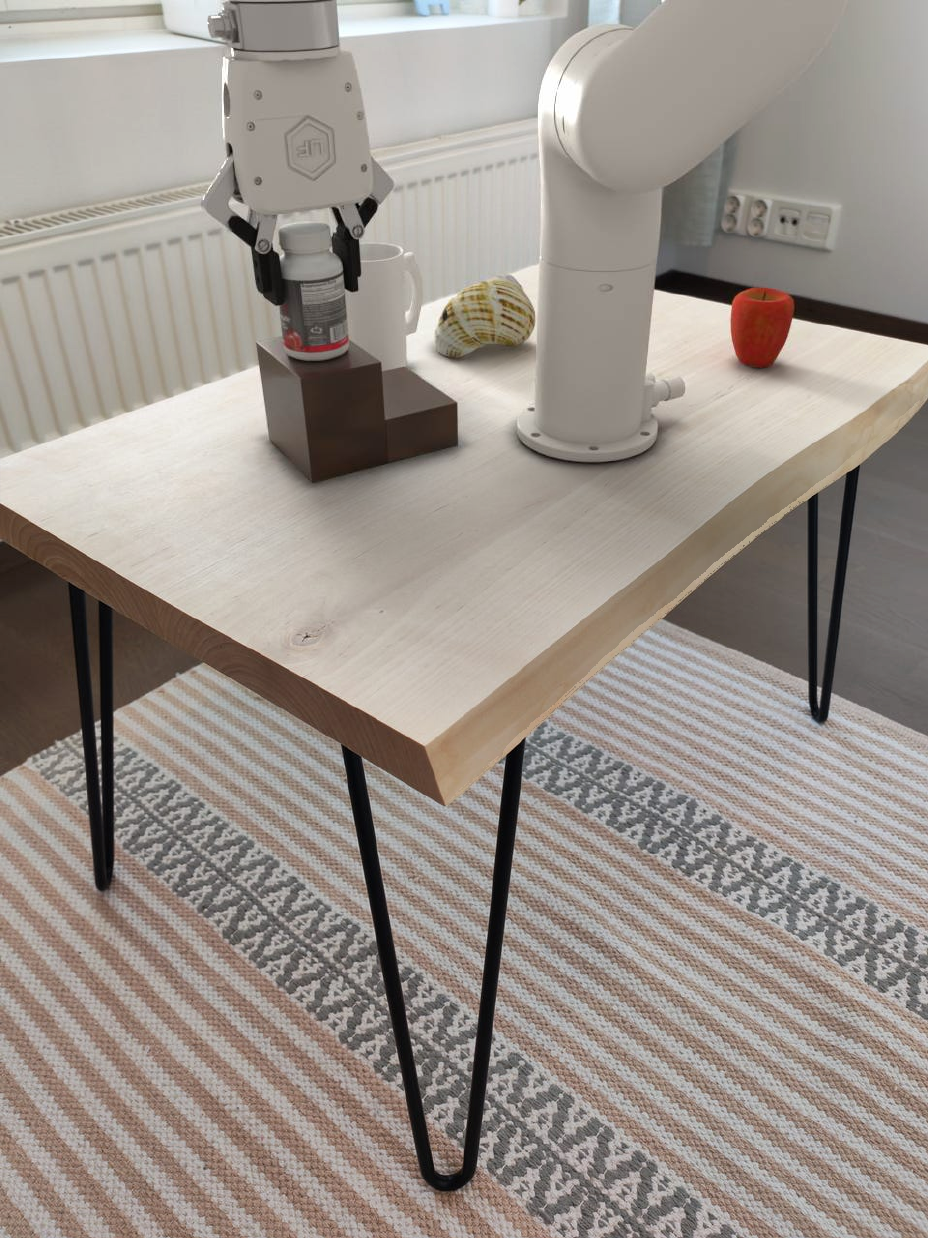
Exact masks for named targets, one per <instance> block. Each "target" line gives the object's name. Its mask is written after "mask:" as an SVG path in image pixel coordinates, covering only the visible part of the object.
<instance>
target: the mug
mask: <svg viewBox="0 0 928 1238" xmlns="http://www.w3.org/2000/svg"><path fill="white" fill-rule="evenodd" d="M359 246H360V260H361V276H360V277H358V291H357V292H350V291H348V290H346V289H345V300H346V311H347V323H348V336H349V340H351V341H352V342H353V343H355V344H356V345H358V346H359V347H361V348H362V349H363V350H365V351H366V352H368V353H369V354H370V355H372V356H373V357H375V358H376V359H378V360H379V361H380V362H381V365H382V371H386V370H391V369H396V368H400V367H406V368H408V365H407V360H408V359H407V336H409V335H411V334H412V335H413V334H415V333H416V332H417V330H418V324H419V320H420V315H421V310H422V304H423V297H424V296H423V295H424V286H423V279H422V275H421V274H422V273H421V272H420V269H419V267H418V264H417V261H416V258H415V257H416V256H415V253H414V252H413V251H412V252H411V251H407V252H406V253H404V252H405V250H404V248H403V247H401V246H400V245H397V244H392V243H387V242H361V243H360V242H359ZM405 273H407V274H408V277H409V278H410V282H411V286H412V297H411V303H410V307H409V310H408V312H407V314H406V274H405Z"/></svg>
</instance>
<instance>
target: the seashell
mask: <svg viewBox="0 0 928 1238" xmlns="http://www.w3.org/2000/svg"><path fill="white" fill-rule="evenodd" d="M535 326H536V311H535V308H534V305H533V303H532V301H531V299H530V298H529V296H528V295H527V294H526V293H525V291H524V288H523V286H522V284H520V282H519V281H518V280H517V278H515V277H514V276H513V275H512V274H508V273H507V274H500V275H493V276H492V277H489V278H488V279H487V280H485V281H481V282H478V283H475V284H472V285H470V286H468V287H466V288H465V289H463V290H462V291H460V292H459V293H458V294H457V295H456V296H454V297H453V298H451V299H449V301H448V303H447V304H446V305H445V306H444V308H443V310H442V311H441V314H440V316H439V318H438V321H437V324H436V326H435V330H434V344H435V350H436V352H437V353H438V354H440V355H443V356H444V357H449V358H461V357H464V356H466V355H468V354H471V353H472V352H474V351H476V350H477V349H479V348H481V347H485V346H486V345H499V346H503V347H504V346H505V347H514V346H518V345H520V344H523V343H524V342H525V341H527V340H528V339H529V338H530V337H531V335H532V334H533V331H534V329H535Z"/></svg>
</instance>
